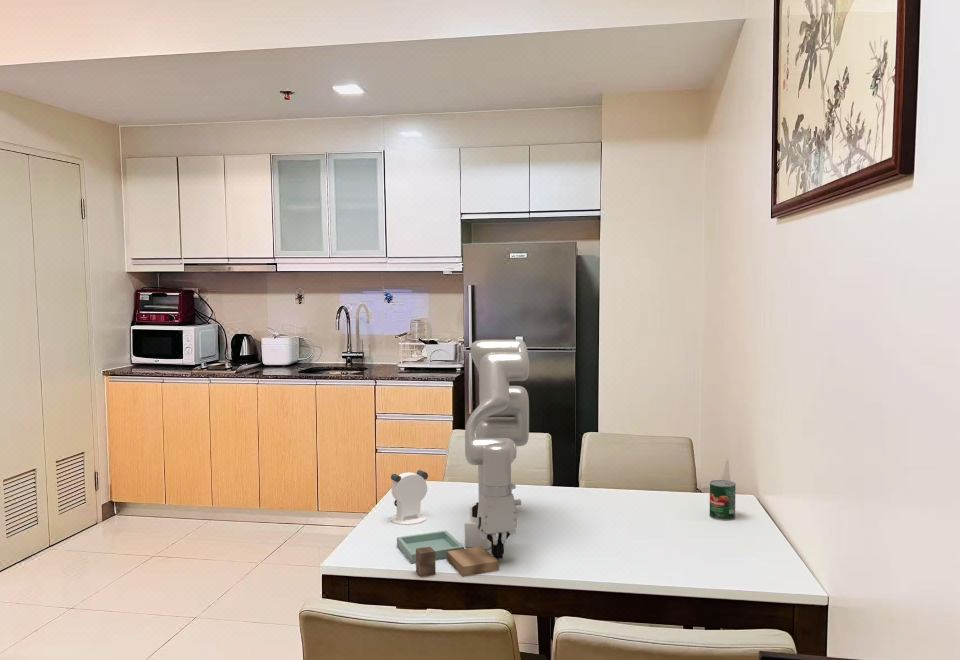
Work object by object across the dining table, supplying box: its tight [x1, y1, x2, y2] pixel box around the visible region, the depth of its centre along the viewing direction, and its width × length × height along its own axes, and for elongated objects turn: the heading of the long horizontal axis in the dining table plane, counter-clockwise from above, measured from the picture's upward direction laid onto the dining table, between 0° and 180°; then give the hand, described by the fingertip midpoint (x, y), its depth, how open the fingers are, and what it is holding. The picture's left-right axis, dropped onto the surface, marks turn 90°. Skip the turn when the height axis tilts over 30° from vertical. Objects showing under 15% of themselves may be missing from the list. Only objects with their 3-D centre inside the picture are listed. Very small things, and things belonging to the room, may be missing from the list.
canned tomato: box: [708, 479, 736, 521], centre depth 230 cm, size 8×8×11 cm
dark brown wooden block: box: [415, 547, 437, 578], centre depth 186 cm, size 4×4×6 cm
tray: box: [396, 530, 465, 565], centre depth 202 cm, size 15×15×2 cm
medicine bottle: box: [464, 501, 491, 551], centre depth 206 cm, size 7×7×12 cm
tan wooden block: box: [446, 546, 500, 578], centre depth 191 cm, size 10×12×3 cm
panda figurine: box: [390, 469, 429, 526], centre depth 230 cm, size 12×11×15 cm
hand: (497, 557), depth 193 cm, fingers closed
